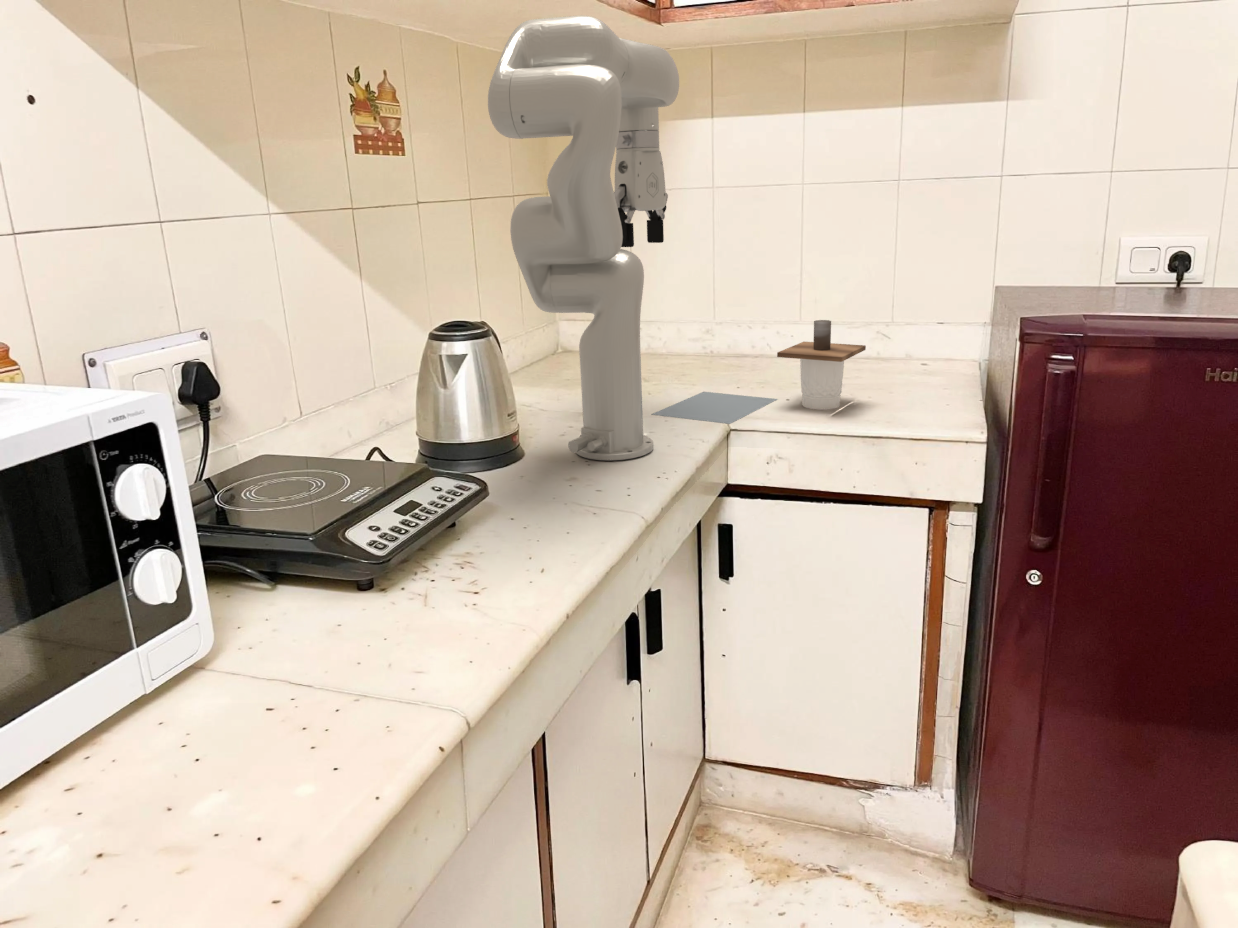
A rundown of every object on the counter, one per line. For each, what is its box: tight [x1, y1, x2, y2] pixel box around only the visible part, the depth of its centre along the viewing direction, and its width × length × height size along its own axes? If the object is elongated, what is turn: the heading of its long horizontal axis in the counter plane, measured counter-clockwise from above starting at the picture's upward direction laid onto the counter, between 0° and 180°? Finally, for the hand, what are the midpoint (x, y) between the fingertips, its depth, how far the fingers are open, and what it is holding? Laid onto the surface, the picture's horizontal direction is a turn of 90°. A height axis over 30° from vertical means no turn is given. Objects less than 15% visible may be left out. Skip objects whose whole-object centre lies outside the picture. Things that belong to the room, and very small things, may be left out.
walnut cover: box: [776, 319, 866, 362], centre depth 165 cm, size 12×12×6 cm
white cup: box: [799, 359, 845, 411], centre depth 167 cm, size 8×8×10 cm
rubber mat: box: [651, 391, 779, 425], centre depth 171 cm, size 20×16×1 cm
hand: (640, 244), depth 163 cm, fingers open, 9 cm apart
